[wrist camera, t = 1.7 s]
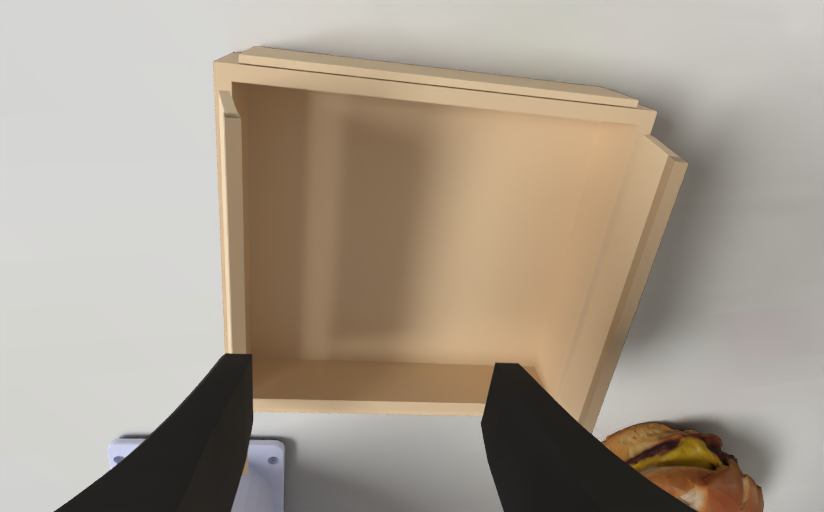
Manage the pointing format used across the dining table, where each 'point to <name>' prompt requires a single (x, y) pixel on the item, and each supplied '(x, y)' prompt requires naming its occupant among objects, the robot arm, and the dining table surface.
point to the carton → (417, 227)
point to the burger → (687, 467)
